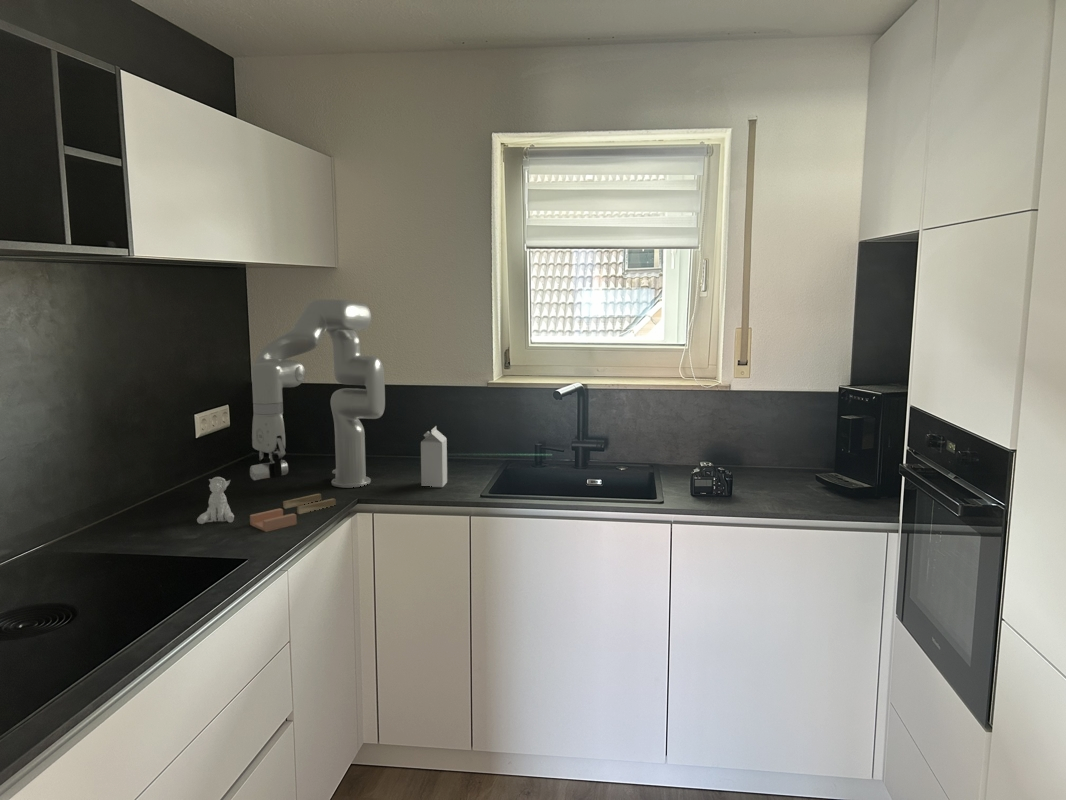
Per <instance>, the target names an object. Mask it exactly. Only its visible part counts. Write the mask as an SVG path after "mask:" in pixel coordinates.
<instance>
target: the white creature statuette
mask: <svg viewBox="0 0 1066 800" xmlns="http://www.w3.org/2000/svg"><path fill="white" fill-rule="evenodd" d="M208 481H209V485H208V487H209V491H211V493H210V495H209V498H208V507H207V510H206V511H205V512H203V513H201V514H200V515H199V516H198V517H197V519H196V521H197V523H198V524H201V525H203V524H205V523H206V524H207V523H213V522H228V523H233V521H234V520H235V515H234V513H233V512H232V511H231V508H230V505H229V504H228V503H229V502H228V500H227V496H226V495H225V493H224V492H225V491H226V490H227V487H228V486H229V485H230V482H231V479H229V480H226V479H225V478H223V477H221V476H215V477H213V478H212V479H211V478H209V479H208Z"/></svg>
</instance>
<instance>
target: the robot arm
mask: <svg viewBox="0 0 1066 800" xmlns="http://www.w3.org/2000/svg"><path fill="white" fill-rule="evenodd" d="M371 322H372V312H371V310H370V308H369V306H368V305H367V304H365V303H363V302H357V301H351V300H346V299H329V298H327V299H322V298H321V299H313V300H311V301H309V302H308V303H307V304H306V305H305V307H304V308H303V310H302V312H301V313H300V315H299V316H298V318H297V320H296V321H295V323H294V324H293V326H292V327H291V330H289V331H287V332H285V333H283V334H282V335H280V336H278V337H277V338H274V339H273V340H271V341H270V342H269V343H267V344H266V345H265V346H263V348H262V349H261V350H260V352H259V353H258V355H257V356H256V358H255V360H254V361H253V364H252V367H251V384H252V386H251V387H252V404H253V405H252V407H253V408H252V409H253V416H252V425H251V426H252V428H251V432H252V433H251V445H252V448H253V449H254V450H257V453H258V456H259V457H258V458H259V459H258V460H259V461H260V462H259V464H264V463H270V462H271V463H270V464H269V470H270V479H274V478H275V479H276V478H281V477H282V476H283V475H282V470H281V462H282V460H283V458H284V456H286V451H285V449H286V432H285V422H284V418H283V417H284V416H283V414H284V401H283V400H284V399H283V388H295V387H298V386H299V385H301V384H302V383H303V382H304V380H305V378H306V369H305V367H304V365H303V364H302V363H301V362H300V361H297V360H295V359H289V358H292V357H295V356H300V355H303V354H306V353H308V352H309V353H310V352H311V351H313V350H315V349H316V348H317V346H318V345H319V343H320V342H321V340H322V338H323V337H324V335H325V333H326V332H327V333H328V335H329V338H330V339H331V342H332V352H333V355H332V356H333V373H334V379H335V380H336V382H338V384H342V385H348V386H350V385H351V386H352V385H353V386H365V389H364V388H347V387H345V388H340V389H337V390H335V391H334V392H333V393H332V395H331V398H330V408H331V412H332V418H333V424H334V425H333V426H334V446H335V447H334V449H335V469H333V470H332V471H331V473H332V474H334V475H335V478H333V479H332V480H331V485H332V486H333V487H335V488H336V487H337V488H340V489H341V488H343V489H345V488H346V489H350V488H353V487H354V488H359V487H360V486H361V487H365V486H367V484H368V485H369V484H371V481H372V480H371V478H370V477H368V476H366V475H367V474H366V473H367V472H366V470H367V469H366V439H365V438H366V435H365V427H364V426H363V423H362V422H361V420H360V419H365V420H366V419H368V420H370V419H371V420H376V419H380V418H381V417H382V416H383V414H384V412H385V408H386V387H385V386H386V385H385V383H386V382H385V369H384V366H383V362H382V361H381V359H380V358H379V357H378V356H374V355H373V356H372V355H362V353H361V342H360V337H359V335H358V333H357V332H356V331H365V330H366V329H368V328H369V326H370V325H371ZM364 485H365V486H364ZM354 488H353V489H354Z"/></svg>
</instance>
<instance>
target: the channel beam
mask: <svg viewBox="0 0 1066 800" xmlns="http://www.w3.org/2000/svg"><path fill="white" fill-rule="evenodd" d="M320 500H321V501H320ZM336 500H337V499H335V498H330V499H329V498H328V499H325V500H322V494H321V493H315V494H310V495H306V496H302V497H298V498H293V499H287V500H284V501H282V507H283V508H282V509H285V510H287V509H291V508H296V513H297V515H303V514H305V513H306V514H307V513H310V511H311V512H315V511H314V510H316V511H319V509H320V510H323V509H322V508H324V509H327V508H326V507H328V508H331V507H330V506H333V507H335V506H334V505H336V504H337V501H336ZM315 501H318V502H315ZM311 502H313V503H311ZM308 503H309V504H308ZM304 504H305V505H304ZM336 506H337V505H336Z"/></svg>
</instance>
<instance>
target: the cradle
mask: <svg viewBox="0 0 1066 800" xmlns="http://www.w3.org/2000/svg"><path fill="white" fill-rule="evenodd" d="M297 521H298V520H297V514H295V513H288V514H285V515H284V508H280V507H279V508H275V509H271V510H267V511H263V512H258V513H252V514H250V515H249V523H250V524H249V525H250V526H252V527H254V528H256V529H259V530H261V531H263V532H265V533H267V532H271V531H276V530H279V529H284V528H287V527H293V526H296V525H297Z"/></svg>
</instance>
